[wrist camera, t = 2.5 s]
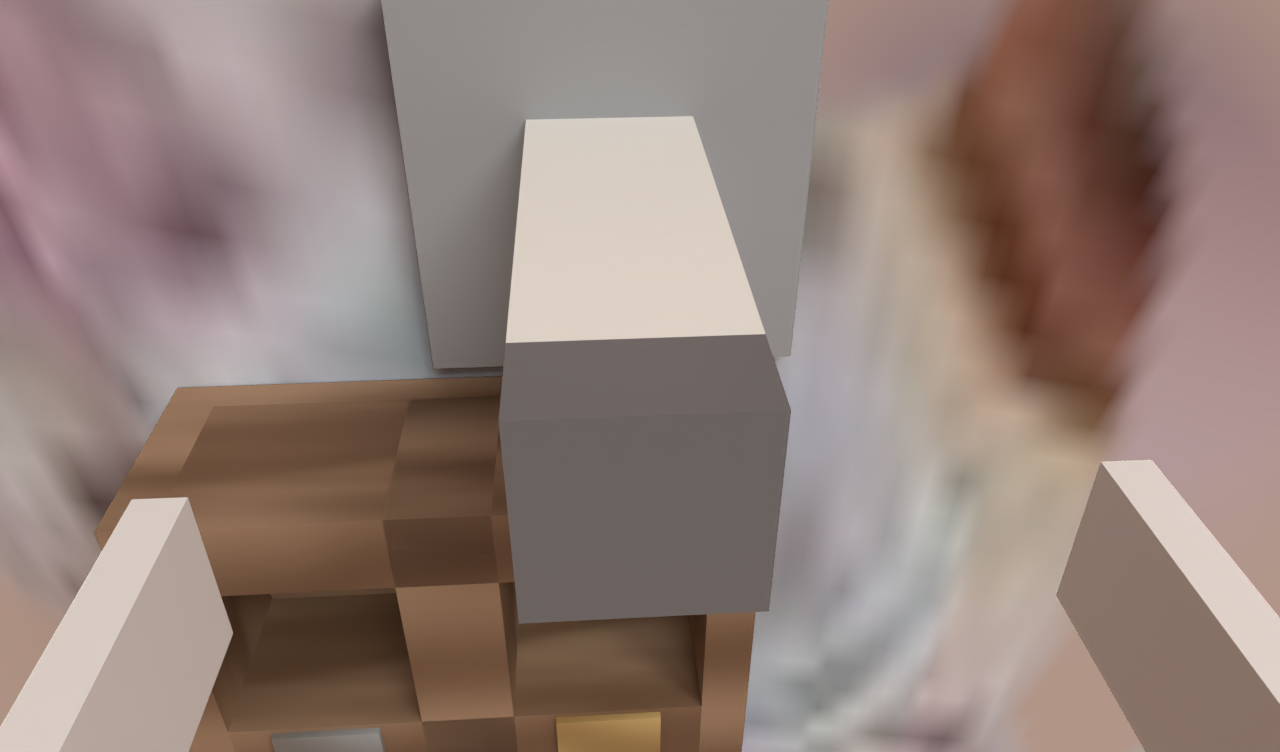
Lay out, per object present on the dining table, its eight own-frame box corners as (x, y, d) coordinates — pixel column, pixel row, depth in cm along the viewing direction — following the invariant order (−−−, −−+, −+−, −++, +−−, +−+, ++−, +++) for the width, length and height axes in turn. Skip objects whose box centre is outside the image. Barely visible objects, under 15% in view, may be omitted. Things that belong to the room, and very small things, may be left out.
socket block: (177, 387, 28) (90, 538, 23) (730, 367, 29) (767, 508, 23) (256, 629, 33) (200, 793, 28) (715, 606, 34) (742, 761, 29)
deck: (386, -22, 22) (379, -12, 21) (820, -28, 22) (830, -18, 22) (437, 349, 28) (433, 368, 27) (783, 337, 28) (790, 356, 27)
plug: (525, 119, 23) (498, 421, 13) (692, 116, 23) (790, 410, 13) (535, 268, 25) (518, 623, 15) (687, 264, 25) (768, 610, 16)
